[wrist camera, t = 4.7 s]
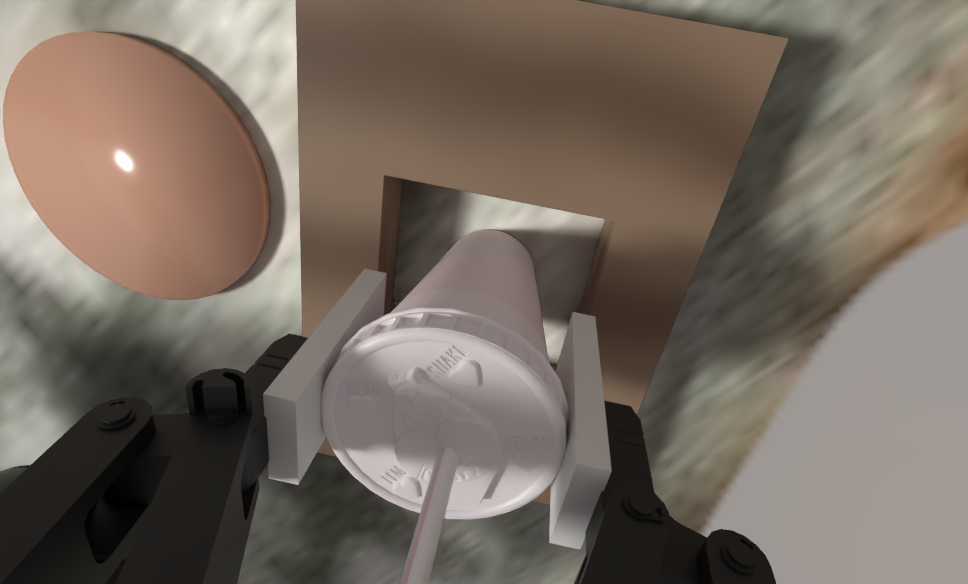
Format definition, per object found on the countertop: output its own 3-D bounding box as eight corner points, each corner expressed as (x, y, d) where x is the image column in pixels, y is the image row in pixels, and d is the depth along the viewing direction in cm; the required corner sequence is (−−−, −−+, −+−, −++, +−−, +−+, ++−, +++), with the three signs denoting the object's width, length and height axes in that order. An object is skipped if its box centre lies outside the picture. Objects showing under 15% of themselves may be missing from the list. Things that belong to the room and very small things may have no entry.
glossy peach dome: (275, 315, 24) (269, 321, 23) (54, 267, 24) (43, 273, 24) (262, 61, 18) (253, 62, 18) (-19, 7, 19) (-36, 6, 18)
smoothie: (456, 352, 23) (336, 716, 11) (387, 231, 21) (136, 523, 9) (590, 310, 21) (623, 696, 9) (530, 170, 19) (467, 438, 7)
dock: (593, 473, 26) (595, 515, 23) (326, 414, 26) (304, 449, 24) (758, 35, 16) (788, 38, 14) (330, -41, 17) (294, -51, 14)
